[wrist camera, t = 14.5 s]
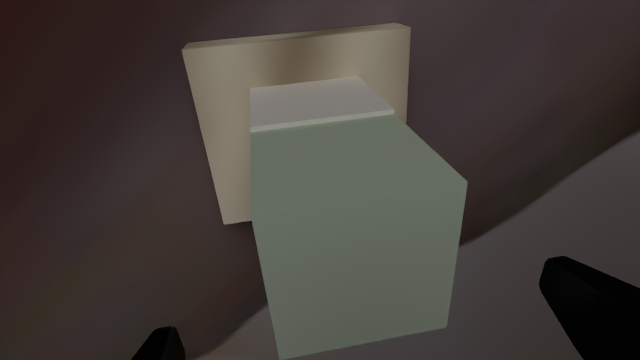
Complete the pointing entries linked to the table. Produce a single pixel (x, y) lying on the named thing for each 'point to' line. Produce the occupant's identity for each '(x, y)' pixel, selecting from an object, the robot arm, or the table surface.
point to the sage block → (353, 232)
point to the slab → (279, 69)
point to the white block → (314, 103)
